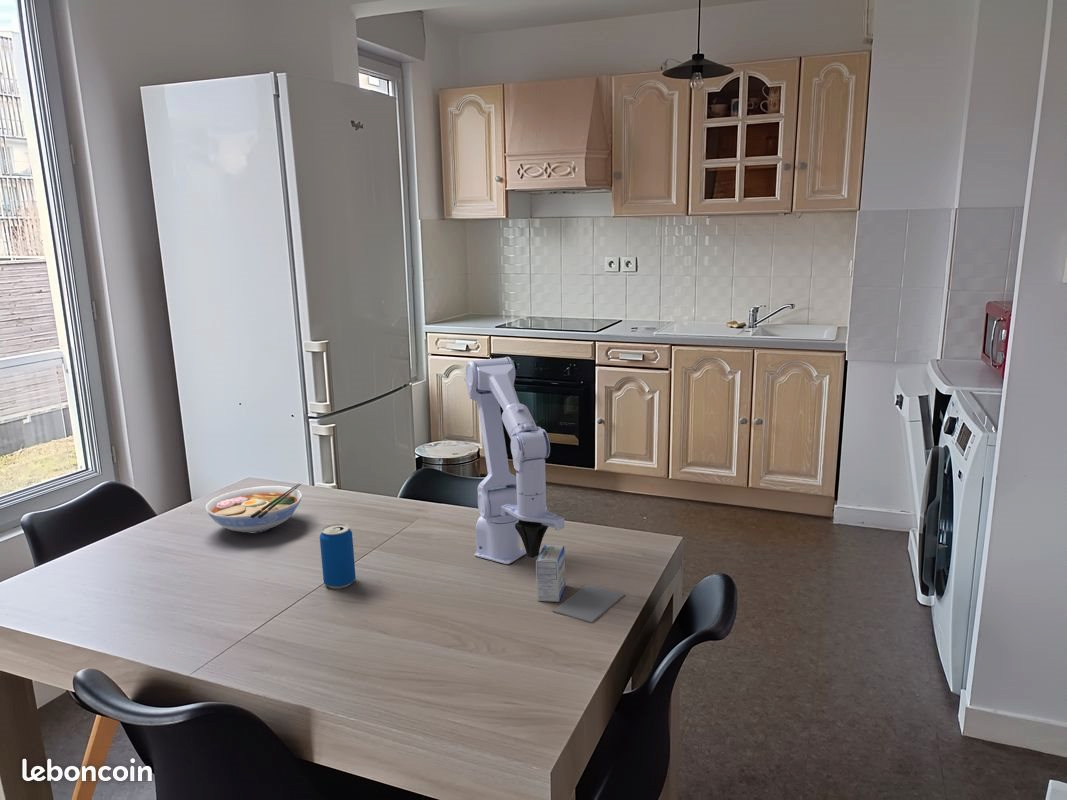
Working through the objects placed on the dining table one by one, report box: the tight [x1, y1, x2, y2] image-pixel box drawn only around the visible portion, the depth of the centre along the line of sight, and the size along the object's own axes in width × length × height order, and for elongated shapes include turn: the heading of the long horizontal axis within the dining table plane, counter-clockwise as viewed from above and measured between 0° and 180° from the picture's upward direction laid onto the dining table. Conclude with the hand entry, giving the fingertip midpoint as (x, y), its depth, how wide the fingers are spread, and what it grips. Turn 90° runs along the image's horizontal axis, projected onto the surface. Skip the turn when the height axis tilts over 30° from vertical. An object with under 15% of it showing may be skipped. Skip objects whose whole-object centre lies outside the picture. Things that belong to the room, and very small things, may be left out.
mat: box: [552, 583, 625, 624], centre depth 148 cm, size 8×13×1 cm, turn 146°
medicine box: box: [535, 544, 566, 603], centre depth 151 cm, size 8×4×9 cm, turn 168°
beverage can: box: [319, 523, 357, 590], centre depth 158 cm, size 6×6×12 cm
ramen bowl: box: [204, 483, 303, 533], centre depth 190 cm, size 25×23×8 cm
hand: (533, 555), depth 153 cm, fingers closed
